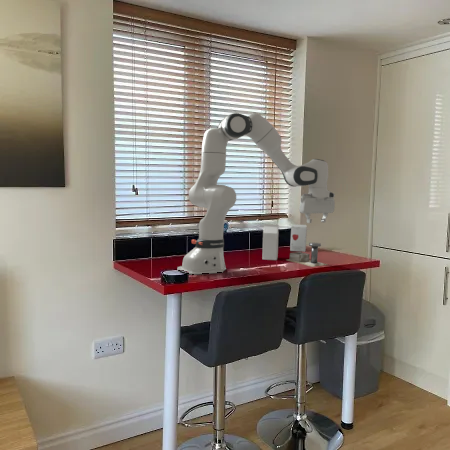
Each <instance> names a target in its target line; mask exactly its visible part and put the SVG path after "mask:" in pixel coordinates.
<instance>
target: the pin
mask: <svg viewBox="0 0 450 450" xmlns="http://www.w3.org/2000/svg"><path fill="white" fill-rule="evenodd" d="M308 245H309V246H310V247H311V251H310V252H311V255H310V260H311V263H314V264H316V263H317V262H318V258H319V257H318V256H319V255H318V254H319V247H321V246H322V244H321V242H309V243H308Z"/></svg>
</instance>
